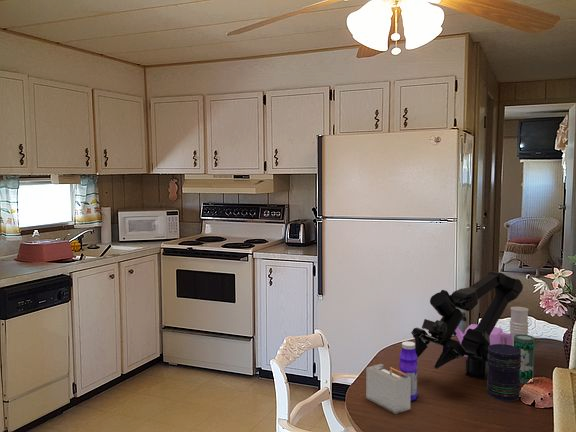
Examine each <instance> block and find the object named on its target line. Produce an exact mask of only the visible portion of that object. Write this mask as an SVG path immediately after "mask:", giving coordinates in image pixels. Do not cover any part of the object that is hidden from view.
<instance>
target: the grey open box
mask: <svg viewBox="0 0 576 432" xmlns="http://www.w3.org/2000/svg"><path fill="white" fill-rule="evenodd" d="M382 369H385V365H384V364H382V363H378V364H374V365H372V366H371V365H370V366H367V367H366V377H365V378H366V381H365V382H366V384H365V385H366V394H365V395H366V400H368V401H371V402H372V403H374V404H376V405H377V406H380V407H381V408H383V409H385V410H387V411H389V412H390V413H392V414H394V415H398V414H401V413H403V412H406V411H409V410H411V400H410V396H411V377H410V376H409V375H406V376H401V377H398V378H396V377H394V376H392V375H389V374H387V373H385V372H383V371H381V370H382Z"/></svg>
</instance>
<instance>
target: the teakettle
mask: <svg viewBox="0 0 576 432" xmlns="http://www.w3.org/2000/svg"><path fill="white" fill-rule="evenodd" d="M477 326H478V324H475V323H472V324H469V326H467V327H466V329H465V330H464V332H462V330H461V329H460V328H459V326H458V327H457V329H456V330H455V332H456V333H457V334H456V336H455V337H457V341H459V342H460V344H461V342H462V340H463V336H464V335H465V334H466V332H467V330H468V329H469V328H470V329H475V328H476V327H477ZM489 337H490V345H493V344H506V345H511V346H513V338H512V334H510V333H506V332H504V331H503V328H501V327H496V326H495V327H494V329H493V330H492V332H491V334H490V336H489ZM505 339H506V343H505ZM463 358H466V359H468V356H467V355H464V356H463Z"/></svg>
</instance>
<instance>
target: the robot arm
mask: <svg viewBox="0 0 576 432" xmlns="http://www.w3.org/2000/svg"><path fill="white" fill-rule="evenodd" d="M523 288H524V285H523V283H522V281H521V280H520V279H519V278H513V277H510V276H509V275H506V274H505V273H503V272H499V271H489V272H488V274H486V275H485V276H484V277H482V278H481V279H479V280H478V281H476V282H475V283H473V284H472V285H470V286H468V287H464V288H459V289H457V290H455V291H452V293H451V294H449V292H448V291H447V290H445V289H441V291H439V292H436V293H435V294H433V295H432V296H430V298H429V299H430V300H429V304H430V305H431V306H432V307H433V309H434V310H435V311H436V313H438V315H440V316H441V317H440V320H438V319H436V320H435V321H433V320H430V319H426V318H424V319H423V323H422V325H421V328H419V327H414V328H413V329H412V331H411V332H410V334H411V335H412V337H413V339H414V340H415V342H414V343H415V351H416V355H417V356H418V358H419V357H420V356H421V355H422V354H423V353H424V352H425V351H426V350H427V348H428V345H429V344H430V343H432V344H435V345H438V346H441V347H442V352H441V354H440V356H439V357H438V358H437V361H436V362H435V364H434V369H435V370H437V369H440V368H441V367H442V366H444V365H446V364H447V363H449V362H451V361H454V360H455V359H459V358H462V359H463V358H464V355H467V356H468V358H466V360H465V376H469V377H473V378H477V379H485V378H486V379H487V376H488V362H487V361H488V347H489V346H490V337H489V336H490V334H491V332H492V330H493V329H494V327H496V325H497V323H498V322H499V320H500V318H501V317H502V315H503V313H504V311H505V309H506V307H507V306H508V305H509V303H511V302H512V301H514V300H516V299H517V298H518V297H519V295H520V294H521V293H522V291H523ZM493 290H494V297H493V299H492V300H491V302H490V304H489V305H488V307H487V309H486V310H485V312H484V314H483V315H482V317H481V319H480V321H479V322H478V324H477V325H478V326H477V327H476V328H475V329H470V328H469V329H468V330H467V332H466V334H465V335H464V336H463V340H462V342H461V343H460V342H459V340H456V339H452V337H453V336H454V337H457V336H456V334H457V333H456V332H455V330H456V329H457V327H458V328H459V325H460V323H461V322H467V316H466V312H469V311H473V309H474V308H475V307H476V306H477V305H478V304H479V300H480V299H481V298H482V297H484V296H485V295H486V294H488V293H490V292H491V291H493ZM461 310H462V311H466V312H462V311H461ZM426 330H427V332H428V333H427V332H426Z"/></svg>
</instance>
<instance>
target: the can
mask: <svg viewBox="0 0 576 432" xmlns="http://www.w3.org/2000/svg"><path fill="white" fill-rule="evenodd" d="M535 343H536V338H535V336H533V335H529V334H527V335H525V334H524V335H523V334H518V335H515V336H514V346H515V347H517V348H519V349H520V350H521V354H520V355H521V368H520V373H519V379H520V384H523V385H527V384H526V383H527V382H528V381H529V380H530V379H532V378H535V374H534V373H535V352H536V351H535V349H536V348H535V347H536V345H535Z"/></svg>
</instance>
